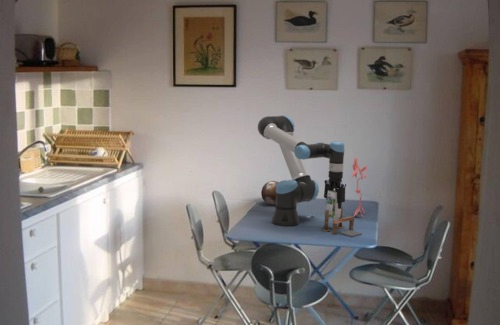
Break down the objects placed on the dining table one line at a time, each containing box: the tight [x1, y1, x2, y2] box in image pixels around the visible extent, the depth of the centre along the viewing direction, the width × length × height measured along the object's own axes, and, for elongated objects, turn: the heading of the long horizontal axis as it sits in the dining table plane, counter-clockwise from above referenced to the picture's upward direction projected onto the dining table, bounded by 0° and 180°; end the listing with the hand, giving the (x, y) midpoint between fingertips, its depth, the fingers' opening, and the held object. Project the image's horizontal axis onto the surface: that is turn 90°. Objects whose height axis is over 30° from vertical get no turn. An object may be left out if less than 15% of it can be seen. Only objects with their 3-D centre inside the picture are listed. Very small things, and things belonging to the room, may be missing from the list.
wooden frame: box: [321, 207, 355, 235], centre depth 320 cm, size 10×15×11 cm, turn 129°
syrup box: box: [326, 189, 341, 220], centre depth 321 cm, size 6×6×14 cm
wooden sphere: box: [261, 180, 279, 206], centre depth 377 cm, size 15×15×15 cm
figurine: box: [344, 156, 368, 218], centre depth 354 cm, size 15×26×35 cm, turn 163°
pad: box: [339, 229, 362, 238], centre depth 313 cm, size 8×8×1 cm
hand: (333, 212), depth 322 cm, fingers closed on syrup box, 6 cm apart
